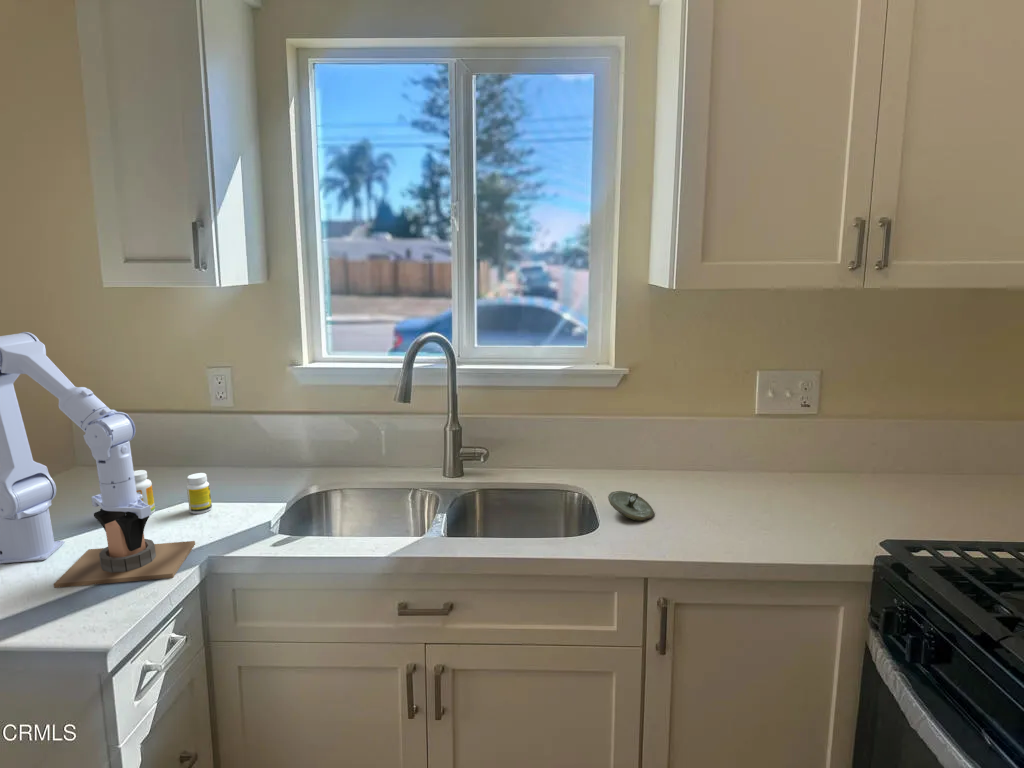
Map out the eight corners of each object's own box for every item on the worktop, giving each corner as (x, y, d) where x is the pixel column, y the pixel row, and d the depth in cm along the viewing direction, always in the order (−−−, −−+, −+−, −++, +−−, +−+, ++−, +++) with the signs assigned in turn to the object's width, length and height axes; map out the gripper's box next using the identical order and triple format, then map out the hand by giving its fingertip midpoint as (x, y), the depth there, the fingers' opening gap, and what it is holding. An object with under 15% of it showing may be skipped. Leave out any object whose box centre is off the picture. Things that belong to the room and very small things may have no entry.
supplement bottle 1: (149, 506, 157) (143, 467, 155) (159, 512, 154) (154, 471, 152) (124, 513, 153) (118, 473, 151) (134, 519, 150) (128, 478, 148)
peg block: (110, 558, 128) (104, 524, 126) (131, 549, 131) (126, 515, 130) (124, 563, 126) (119, 528, 124) (146, 553, 129) (141, 519, 128)
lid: (618, 502, 156) (618, 481, 155) (659, 509, 151) (660, 488, 150) (600, 518, 147) (601, 496, 146) (644, 526, 142) (644, 504, 141)
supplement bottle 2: (215, 509, 155) (211, 475, 153) (194, 516, 152) (190, 480, 150) (206, 504, 158) (202, 470, 156) (186, 510, 155) (181, 476, 153)
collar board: (54, 587, 120) (51, 571, 120) (89, 553, 134) (86, 537, 133) (173, 577, 124) (170, 561, 123) (195, 544, 137) (193, 529, 136)
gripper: (162, 477, 125) (170, 544, 128) (113, 467, 132) (122, 531, 135) (126, 490, 119) (136, 560, 122) (76, 478, 126) (87, 545, 129)
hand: (126, 546), depth 128 cm, fingers closed on peg block, 4 cm apart
